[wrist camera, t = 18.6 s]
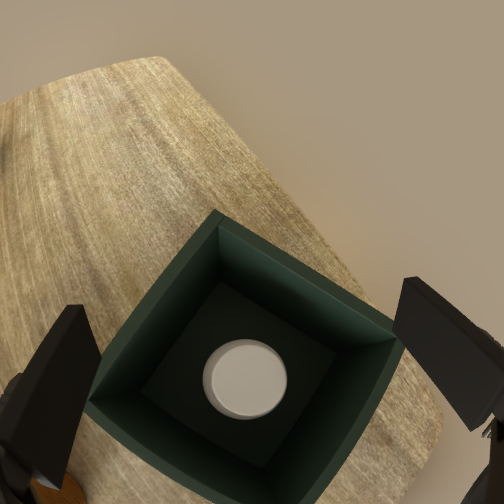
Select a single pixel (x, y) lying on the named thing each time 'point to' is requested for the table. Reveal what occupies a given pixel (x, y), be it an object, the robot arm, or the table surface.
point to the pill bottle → (244, 379)
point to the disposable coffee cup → (60, 492)
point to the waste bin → (235, 328)
